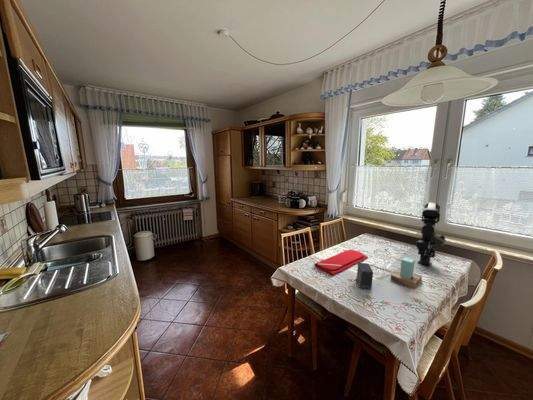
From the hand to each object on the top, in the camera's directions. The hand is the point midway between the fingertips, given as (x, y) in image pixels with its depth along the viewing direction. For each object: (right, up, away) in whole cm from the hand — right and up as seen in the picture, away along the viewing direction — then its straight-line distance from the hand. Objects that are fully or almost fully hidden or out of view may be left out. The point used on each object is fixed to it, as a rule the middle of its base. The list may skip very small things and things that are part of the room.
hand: (425, 254), depth 133 cm
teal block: (-14, -11, -4) cm, 18 cm away
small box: (-40, -15, -7) cm, 43 cm away
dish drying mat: (-44, -11, +20) cm, 49 cm away
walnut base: (-14, -14, -4) cm, 20 cm away
